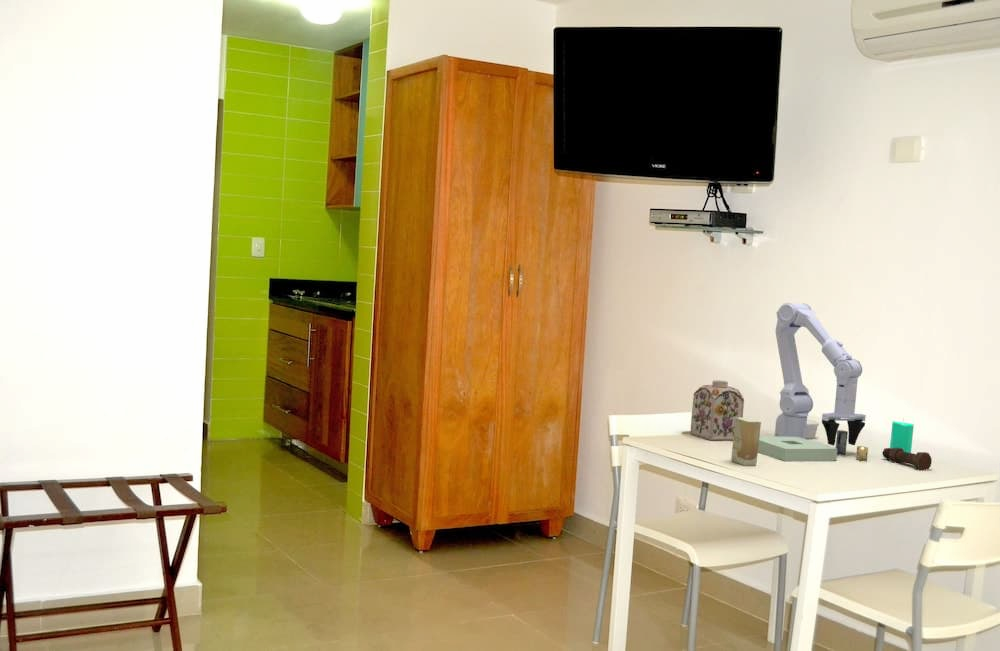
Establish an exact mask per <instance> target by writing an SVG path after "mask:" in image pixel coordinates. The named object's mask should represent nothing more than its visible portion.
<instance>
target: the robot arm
mask: <svg viewBox="0 0 1000 651" xmlns="http://www.w3.org/2000/svg"><path fill="white" fill-rule="evenodd" d="M776 320H777V321H776V326H775V338H776V342H777V343H776V344H777V350H778V354H779V360H780V367H781V373H782V379H783V385H784V386H783V388H782V389H781V390H780V392H779V394H780V399H779V408H780V409H779V410H780V411H781V412H782V413H780V414H778V416H776V420H775V430H774V437H800V438H803V439H805V436H806V425H807V420H808V417H809V413H810V412H811V411H812V410H813V408H814V400H813V398H812V396H811V395H810V393H809V389H808V388H807V387H806V385H805V384H803V378H802V372H801V367H800V366H801V365H800V361H799V355H798V350H797V344H796V338H795V334H797V332H798V330H799V329H800V328H802V327H804V328H806V329H807V330H808V332H809V333H811V335H812V336H813V337H814V338H815V339H816V341H817V342H818V343H819V344H820V345H821V352H822V354H823V355H824V356H825V358H826V359H827V360H828V361H829V363H830V364H831V366H833V373H834V376H835V378H836V390H835V402H834V411H833V412H828V413H822V414H821V424H822V426H823V429H824V430H825V435H826V439H827V444H828V445H829V446H836V438H837V430H839V427H840V423H839V422H840V421H841V422H843V421H845V422H847V426H848V427H847V428H848V435H847V443H848V445H852V446H855V445H856V443H857V440H858V438H859V435H860V433H861V431H862V430H863V429H864V427H865V426H866V418H867V415H866V414H863V413H855V411H856V402H857V391H858V380H859V379H858V378H860V377H861V375H862V373H863V366H862V364H861V362H860V361H859V360H858V359H854V358H853V356H852V354H849V353H848V352H847V350H846V349H845V348H844V346H843V345H844V343H843V342H842V341H840V340H838V339H832V337H831V336H830V334H829V333H828V332H827V330H826V329H825V328H824V326H823V325H822V323H821V322H820V320H819V319H818V317H817V315H816V312H815V311H814V310H813V309H812V307H811V306H810V305H809V304H807V303H792V302H785V303H782V305H781V306H780V307H779V308H778V310H777V311H776ZM838 421H839V422H838Z"/></svg>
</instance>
